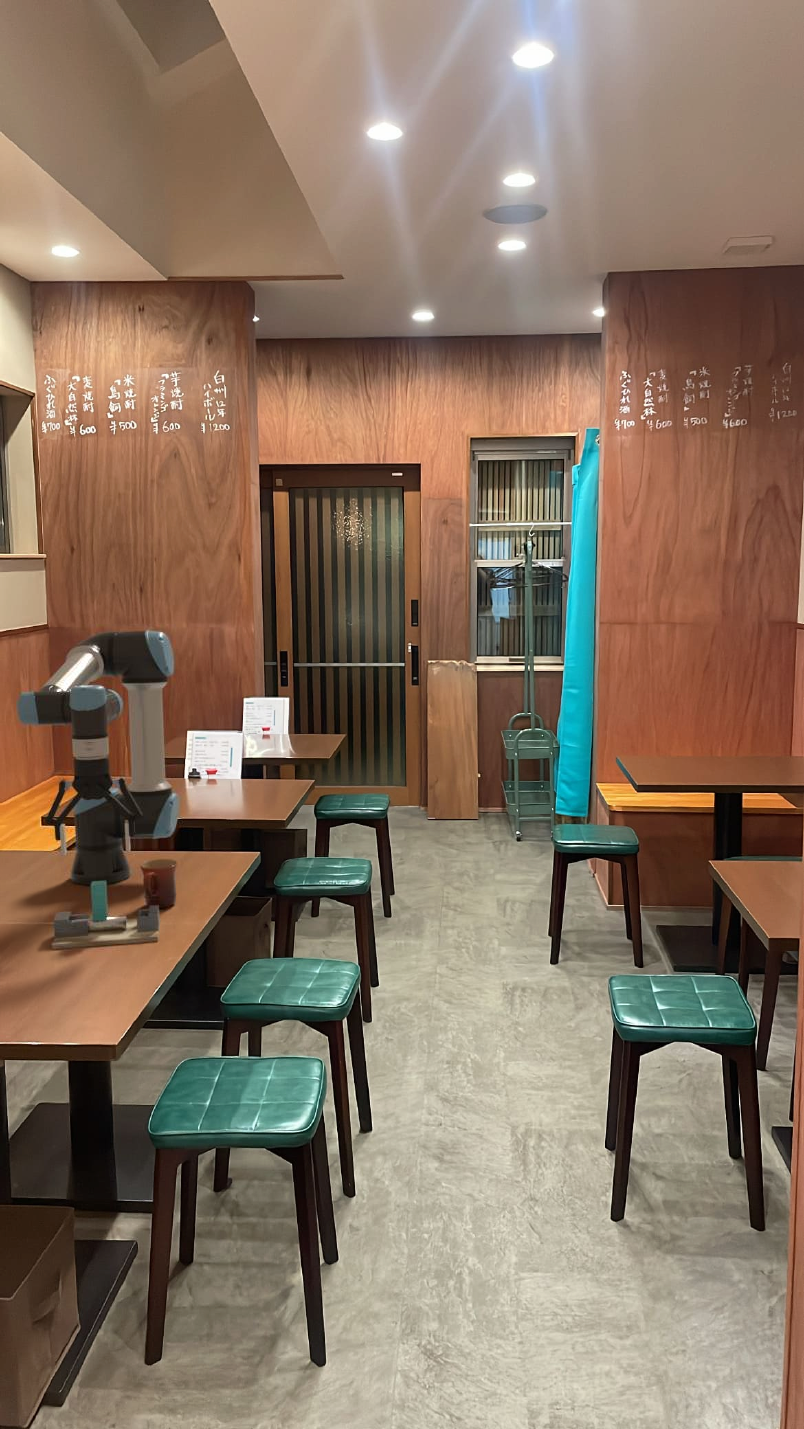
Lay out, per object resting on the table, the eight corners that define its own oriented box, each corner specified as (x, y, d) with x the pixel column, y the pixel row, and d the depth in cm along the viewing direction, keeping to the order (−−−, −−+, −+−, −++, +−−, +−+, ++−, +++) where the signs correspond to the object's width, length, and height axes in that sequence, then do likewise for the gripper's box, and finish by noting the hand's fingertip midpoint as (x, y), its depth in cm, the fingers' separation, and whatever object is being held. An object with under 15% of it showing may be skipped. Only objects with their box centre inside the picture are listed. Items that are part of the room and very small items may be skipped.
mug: (151, 898, 263) (149, 858, 262) (185, 900, 261) (183, 859, 260) (129, 914, 251) (127, 871, 250) (164, 915, 250) (162, 873, 248)
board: (60, 928, 242) (60, 923, 242) (160, 921, 246) (160, 916, 246) (52, 949, 228) (52, 944, 228) (157, 941, 232) (157, 936, 232)
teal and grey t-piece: (57, 931, 236) (54, 883, 235) (127, 926, 239) (124, 879, 238) (55, 935, 233) (52, 887, 232) (126, 930, 236) (123, 883, 235)
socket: (139, 923, 241) (138, 906, 240) (159, 922, 242) (158, 904, 241) (137, 932, 235) (136, 914, 234) (158, 930, 236) (157, 913, 235)
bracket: (58, 929, 238) (57, 912, 237) (90, 927, 239) (89, 910, 238) (54, 938, 232) (53, 920, 232) (88, 935, 233) (87, 918, 233)
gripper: (28, 762, 226) (34, 860, 228) (149, 756, 230) (153, 853, 233) (33, 756, 233) (39, 852, 236) (151, 751, 237) (155, 845, 240)
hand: (96, 852), depth 234 cm, fingers open, 13 cm apart
